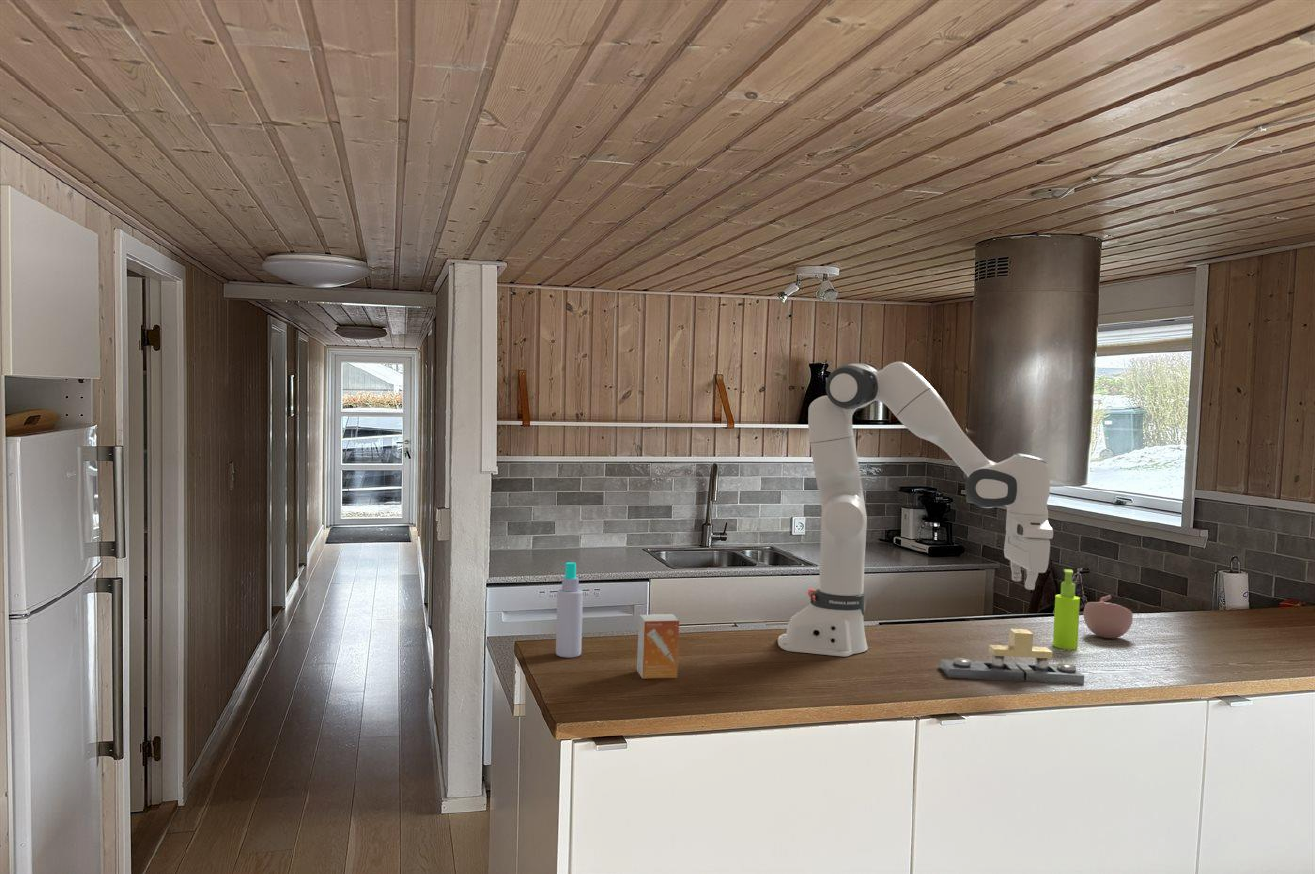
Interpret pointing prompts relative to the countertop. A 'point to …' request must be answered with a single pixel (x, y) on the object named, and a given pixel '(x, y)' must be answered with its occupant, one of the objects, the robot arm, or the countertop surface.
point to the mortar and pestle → (1107, 618)
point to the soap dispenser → (1066, 615)
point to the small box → (658, 646)
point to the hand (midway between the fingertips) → (1022, 584)
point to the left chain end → (980, 670)
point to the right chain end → (1052, 673)
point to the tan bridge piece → (1020, 650)
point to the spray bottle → (569, 615)
